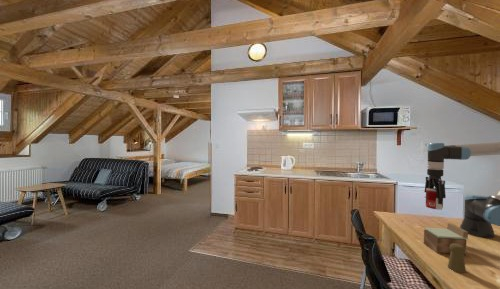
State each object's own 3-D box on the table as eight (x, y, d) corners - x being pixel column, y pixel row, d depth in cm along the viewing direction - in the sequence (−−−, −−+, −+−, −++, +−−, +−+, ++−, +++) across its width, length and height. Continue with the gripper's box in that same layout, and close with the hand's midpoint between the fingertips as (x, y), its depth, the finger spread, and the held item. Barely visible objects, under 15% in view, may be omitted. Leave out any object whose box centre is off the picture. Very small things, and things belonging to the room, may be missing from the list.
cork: (446, 269, 102) (447, 244, 102) (448, 264, 107) (449, 240, 106) (465, 275, 98) (466, 249, 98) (466, 269, 102) (467, 244, 102)
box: (449, 245, 126) (450, 231, 126) (465, 255, 115) (466, 239, 115) (423, 243, 127) (424, 229, 127) (437, 253, 117) (437, 238, 116)
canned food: (445, 210, 133) (446, 191, 133) (429, 209, 135) (430, 190, 134) (437, 206, 141) (438, 188, 140) (422, 205, 142) (423, 187, 142)
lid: (451, 230, 125) (451, 223, 125) (467, 239, 115) (467, 231, 114) (425, 229, 127) (425, 222, 127) (438, 237, 116) (439, 230, 116)
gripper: (418, 166, 148) (417, 202, 148) (440, 171, 127) (438, 212, 128) (431, 166, 147) (429, 202, 147) (455, 171, 126) (453, 213, 127)
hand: (434, 207), depth 138 cm, fingers closed on canned food, 8 cm apart
